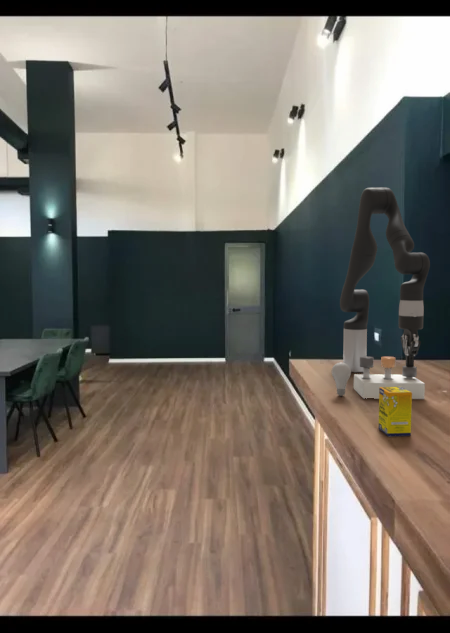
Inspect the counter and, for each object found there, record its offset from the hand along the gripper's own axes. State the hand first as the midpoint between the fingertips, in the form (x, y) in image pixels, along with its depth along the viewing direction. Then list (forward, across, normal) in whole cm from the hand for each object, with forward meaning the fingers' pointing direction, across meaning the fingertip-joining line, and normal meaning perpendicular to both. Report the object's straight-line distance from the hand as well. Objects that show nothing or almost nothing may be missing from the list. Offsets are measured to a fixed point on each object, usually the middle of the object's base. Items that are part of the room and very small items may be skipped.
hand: (409, 366), depth 160 cm
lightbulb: (+9, +4, -23) cm, 25 cm away
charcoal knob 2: (+8, 0, 0) cm, 8 cm away
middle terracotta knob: (+5, 0, -7) cm, 9 cm away
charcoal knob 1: (+5, 0, -14) cm, 15 cm away
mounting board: (+9, 0, -7) cm, 11 cm away
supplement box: (+9, +41, -17) cm, 45 cm away
